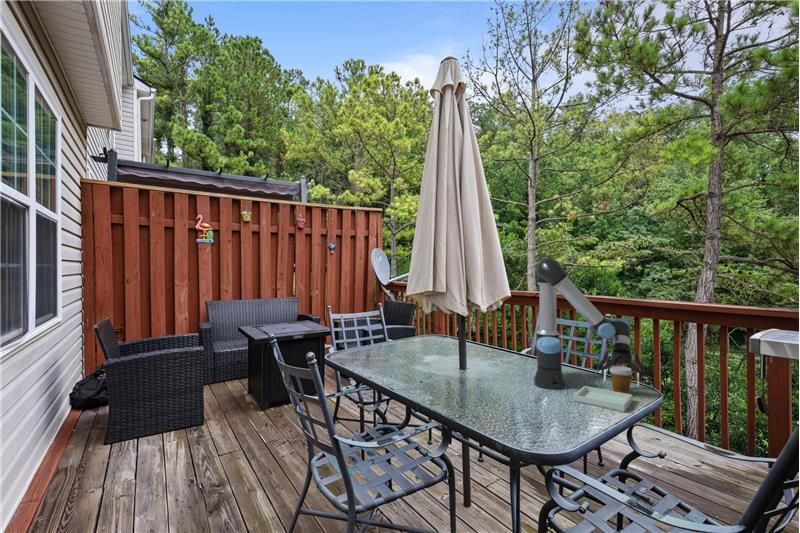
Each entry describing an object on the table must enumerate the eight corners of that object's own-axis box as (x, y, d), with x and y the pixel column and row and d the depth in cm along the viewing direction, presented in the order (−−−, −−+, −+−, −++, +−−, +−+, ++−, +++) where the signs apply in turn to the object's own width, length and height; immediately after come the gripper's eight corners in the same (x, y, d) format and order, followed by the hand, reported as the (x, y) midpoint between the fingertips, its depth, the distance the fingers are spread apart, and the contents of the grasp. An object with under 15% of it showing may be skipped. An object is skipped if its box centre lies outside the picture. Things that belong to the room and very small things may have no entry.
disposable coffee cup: (621, 398, 177) (620, 372, 177) (605, 391, 186) (604, 366, 186) (637, 395, 180) (637, 370, 179) (621, 389, 189) (620, 364, 189)
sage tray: (573, 401, 174) (573, 395, 174) (584, 392, 186) (584, 385, 186) (624, 412, 161) (624, 405, 161) (632, 401, 173) (632, 394, 173)
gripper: (651, 353, 189) (652, 392, 177) (594, 348, 202) (592, 385, 190) (651, 344, 185) (653, 384, 172) (593, 339, 198) (590, 377, 185)
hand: (621, 384), depth 181 cm, fingers open, 13 cm apart
